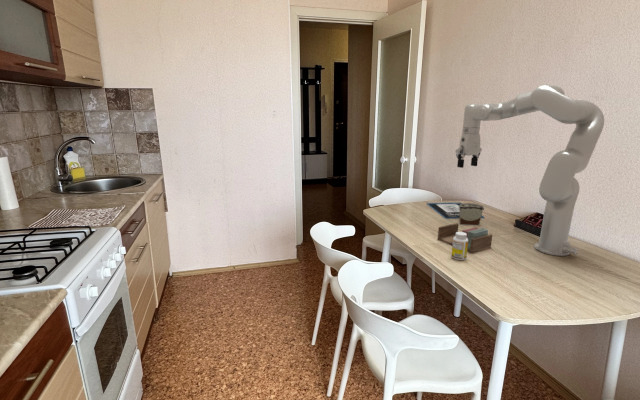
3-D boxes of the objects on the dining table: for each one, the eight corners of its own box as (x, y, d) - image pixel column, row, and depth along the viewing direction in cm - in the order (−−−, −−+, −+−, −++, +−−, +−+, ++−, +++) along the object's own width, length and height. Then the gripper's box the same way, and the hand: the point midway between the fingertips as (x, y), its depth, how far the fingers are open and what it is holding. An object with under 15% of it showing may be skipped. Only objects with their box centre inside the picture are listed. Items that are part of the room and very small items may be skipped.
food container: (478, 221, 182) (480, 203, 180) (482, 225, 176) (484, 206, 174) (453, 221, 184) (455, 202, 181) (457, 224, 178) (459, 205, 175)
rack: (490, 248, 148) (493, 230, 146) (472, 253, 142) (474, 235, 140) (455, 235, 163) (457, 218, 161) (437, 239, 157) (439, 222, 155)
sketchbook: (445, 220, 187) (446, 216, 186) (425, 205, 216) (426, 202, 215) (484, 219, 188) (485, 215, 187) (459, 204, 217) (460, 201, 216)
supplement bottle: (461, 254, 141) (464, 230, 138) (469, 260, 136) (471, 235, 133) (448, 255, 140) (451, 231, 138) (455, 260, 135) (457, 236, 133)
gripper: (465, 132, 160) (461, 169, 164) (489, 131, 168) (485, 166, 172) (451, 131, 166) (448, 166, 170) (476, 130, 174) (472, 164, 178)
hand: (467, 166), depth 171 cm, fingers open, 9 cm apart
